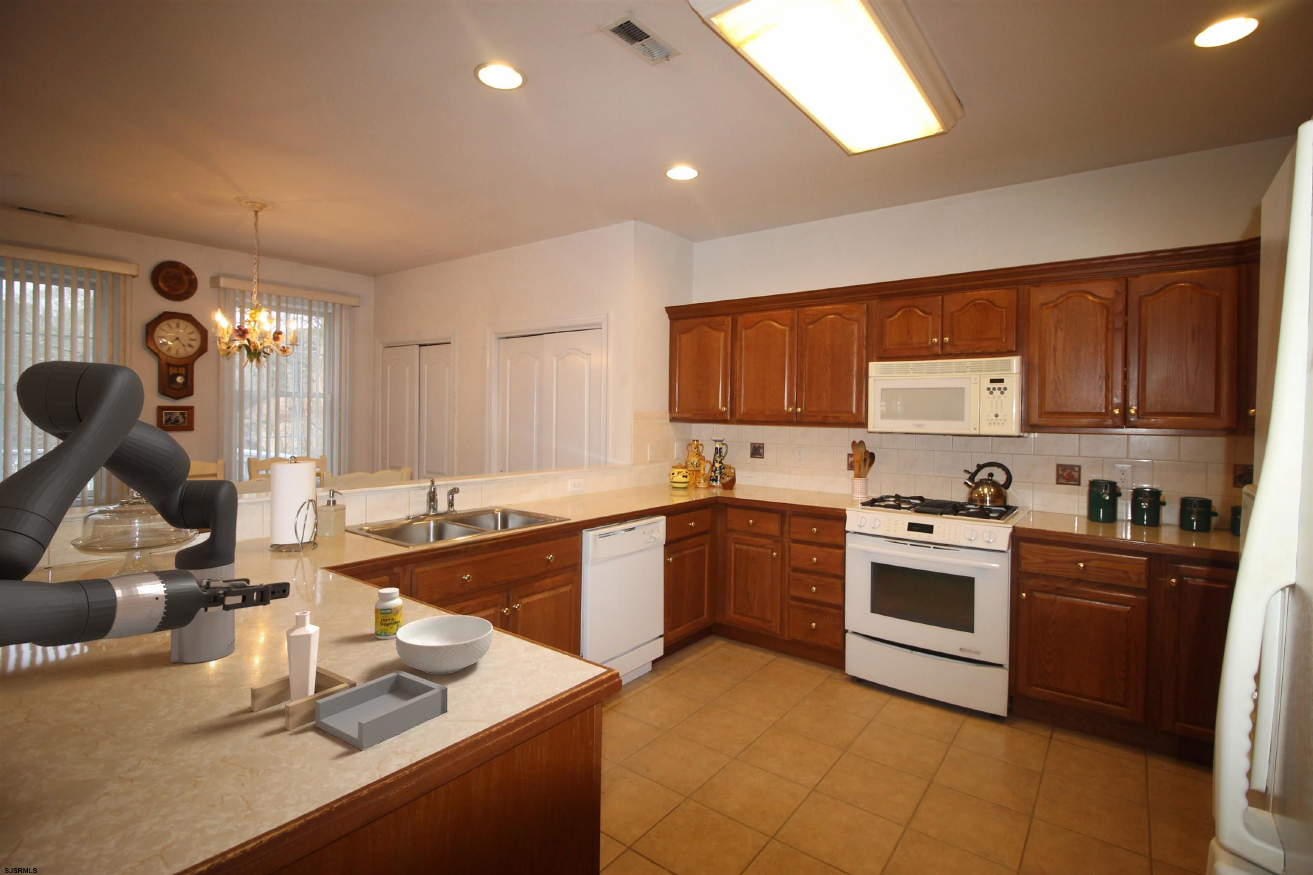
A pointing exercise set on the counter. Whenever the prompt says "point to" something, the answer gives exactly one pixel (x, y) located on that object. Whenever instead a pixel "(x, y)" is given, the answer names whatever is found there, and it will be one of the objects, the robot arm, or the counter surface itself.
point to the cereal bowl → (444, 642)
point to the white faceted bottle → (302, 656)
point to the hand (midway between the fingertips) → (267, 587)
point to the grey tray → (380, 708)
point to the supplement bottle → (388, 613)
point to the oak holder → (302, 708)
